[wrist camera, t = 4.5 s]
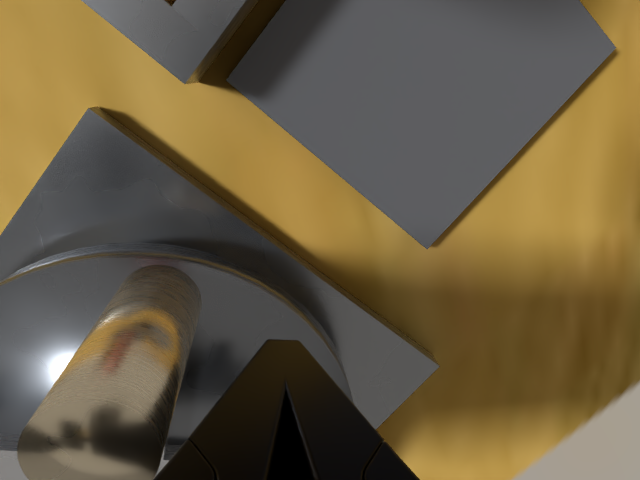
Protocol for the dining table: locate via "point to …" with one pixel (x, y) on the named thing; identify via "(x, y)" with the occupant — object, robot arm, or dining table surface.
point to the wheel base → (199, 247)
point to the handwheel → (130, 355)
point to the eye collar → (177, 29)
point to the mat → (419, 91)
